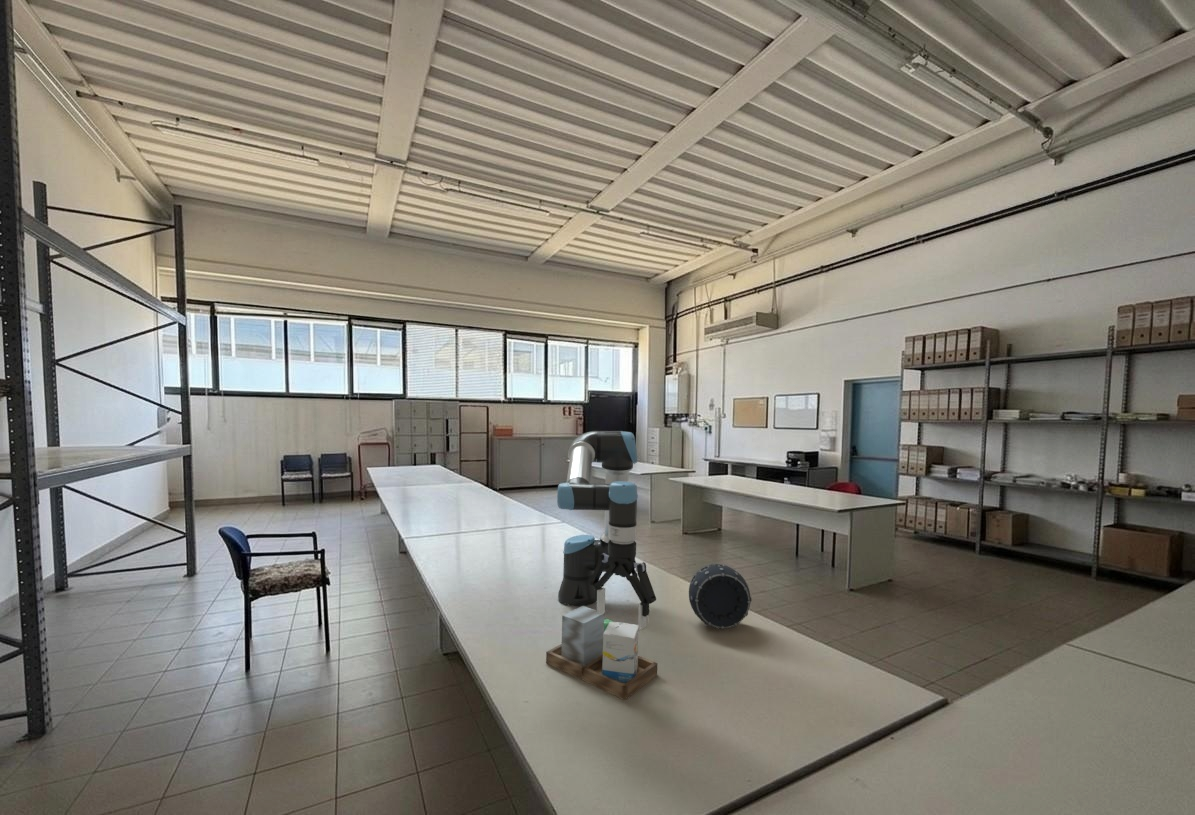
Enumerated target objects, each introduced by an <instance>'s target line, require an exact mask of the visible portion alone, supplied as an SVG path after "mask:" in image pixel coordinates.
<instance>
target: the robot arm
mask: <svg viewBox="0 0 1195 815" xmlns="http://www.w3.org/2000/svg"><path fill="white" fill-rule="evenodd" d="M637 452H638V451H637V445H636V438H635V435H634V433H633V432H631V431H623V430H609V431H608V430H592V431H591V430H590V431H588V432H584V433H582V434H580V435H579V436H577V437H576V438H575V439H574V440H573V441H572V442H571V443H570V445H569V448H568V451H567V458H568V460H569V462H568V463H569V464H568V469H567V470H568V471H567V476H566V482H562V483H559V484H558V485H557V494H556V499H557V500H556V501H557V503H556V504H557V508H558V509H561V510H569V511H573V510H574V511H577V510H578V511H588V510H589V511H604V526H603V527H604V529H603V530H604V531H603V533H601V534H600V537H599V539H596V538H595V536H594V535H592V534H578V535H574V536H570V537H569V538H567V539H566V540H565V541H564V544H563V552H562V553H563V574H562V576H563V577H562V581H561V584H560V587H559V590H558V592H557V594H558V596H557V598H558V599H557V600H558V601H559V602H560V603H561V604H563V605H565V606H566V605H567V606H573V607H581V606H585V607H587V606H590V605H593V604H595V603H596V610H597V614H598V615H599V614H601V613H605V611H606V587H604V586H605V585H606V583H607V582H608V581H609V580H610V579H611V577H612V576H613V575H614V576H620V577H621V578H626V581H628V582H629V584H630V585H631V587H632V588H633V590H634V592H635V594H636V596H637V597H638V599H639V601H640V602H639V603H638V612H637V613H638V614H637V615H638V618H637V620H638V622H637V625H638V629H639V630H641V631H642V629H644V628H646V627H647V616H649V614H650V605H651V604H652V603H654V602H656V601H657V597H656V594H655V592H654V588H653V585H652V583H651V580H650V577H649V575H648V572H647V564H646V562H644V561H643V562H637V561H636V556H637V542H636V540H637V526H638V524H637V517H638V516H637V514H638V512H637V511H638V510H637V509H638V498H639V496H638V495H639V494H638V485H637V484H636V483H635V482H632V481H629V473H630V472H631V471H632V470H633V468H634V465H635V464H637V463H638V454H637ZM593 463H596V464H597V463H599V464H601V468H602V470H603V471H605V483H592V466H593V465H592V464H593ZM603 573H604V574H603ZM602 574H603V575H602Z"/></svg>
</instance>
